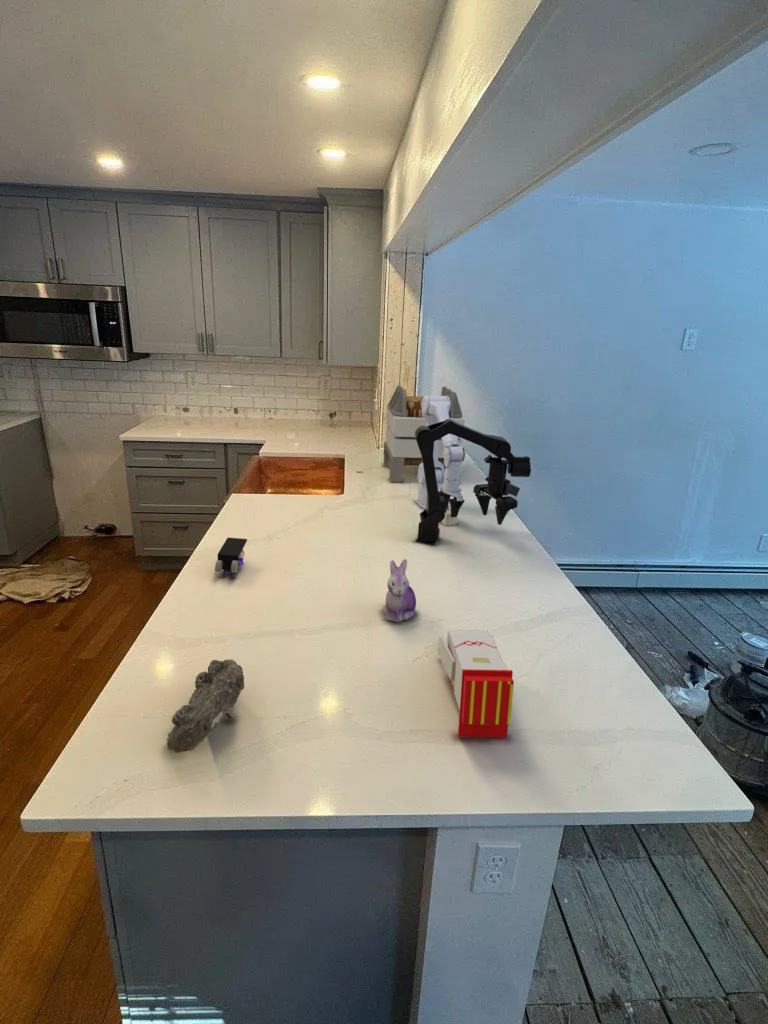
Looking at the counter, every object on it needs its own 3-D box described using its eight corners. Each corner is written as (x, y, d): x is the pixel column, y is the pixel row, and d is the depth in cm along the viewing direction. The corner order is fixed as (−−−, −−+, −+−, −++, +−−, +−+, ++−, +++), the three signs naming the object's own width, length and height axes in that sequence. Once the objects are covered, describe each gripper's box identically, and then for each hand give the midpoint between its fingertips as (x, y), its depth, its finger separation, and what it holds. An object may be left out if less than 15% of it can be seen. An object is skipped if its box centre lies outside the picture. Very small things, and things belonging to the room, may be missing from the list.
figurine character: (238, 584, 162) (249, 557, 175) (236, 562, 158) (247, 536, 172) (215, 584, 161) (227, 556, 175) (212, 561, 158) (225, 535, 171)
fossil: (192, 660, 117) (244, 628, 112) (224, 691, 120) (276, 661, 115) (142, 746, 98) (202, 712, 93) (182, 779, 101) (242, 748, 96)
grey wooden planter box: (382, 463, 289) (386, 382, 275) (445, 464, 293) (451, 384, 279) (390, 482, 257) (394, 392, 243) (460, 483, 261) (468, 394, 247)
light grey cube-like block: (456, 524, 211) (457, 513, 210) (445, 525, 210) (446, 514, 208) (450, 520, 215) (451, 509, 214) (440, 521, 213) (440, 510, 212)
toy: (488, 613, 130) (523, 677, 101) (484, 667, 133) (517, 744, 104) (435, 612, 130) (455, 676, 101) (432, 666, 133) (451, 743, 103)
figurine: (392, 627, 141) (395, 572, 136) (374, 608, 149) (376, 556, 144) (425, 619, 145) (429, 566, 140) (405, 601, 154) (408, 550, 149)
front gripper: (534, 482, 183) (528, 527, 188) (502, 467, 199) (497, 508, 204) (505, 484, 179) (499, 530, 184) (474, 469, 195) (470, 511, 200)
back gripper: (471, 483, 202) (468, 519, 206) (452, 472, 214) (449, 506, 219) (454, 484, 199) (451, 520, 204) (435, 473, 212) (433, 507, 216)
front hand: (492, 519), depth 193 cm, fingers open, 9 cm apart
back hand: (449, 513), depth 211 cm, fingers open, 7 cm apart
